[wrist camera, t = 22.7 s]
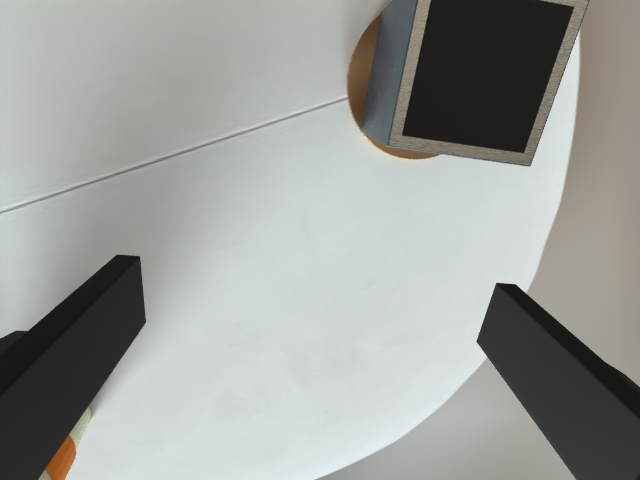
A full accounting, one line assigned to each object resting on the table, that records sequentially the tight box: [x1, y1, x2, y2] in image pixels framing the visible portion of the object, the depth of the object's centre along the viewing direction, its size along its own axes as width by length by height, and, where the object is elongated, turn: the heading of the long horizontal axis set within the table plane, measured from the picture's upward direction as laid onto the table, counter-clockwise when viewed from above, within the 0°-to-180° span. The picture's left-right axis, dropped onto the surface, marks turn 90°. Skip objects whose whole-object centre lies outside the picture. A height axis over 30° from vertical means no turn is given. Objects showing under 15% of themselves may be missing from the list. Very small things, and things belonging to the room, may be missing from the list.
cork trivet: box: [347, 14, 440, 159], centre depth 33 cm, size 14×14×1 cm
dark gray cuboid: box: [361, 0, 589, 166], centre depth 27 cm, size 12×10×10 cm
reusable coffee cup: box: [38, 406, 91, 480], centre depth 40 cm, size 12×13×15 cm
